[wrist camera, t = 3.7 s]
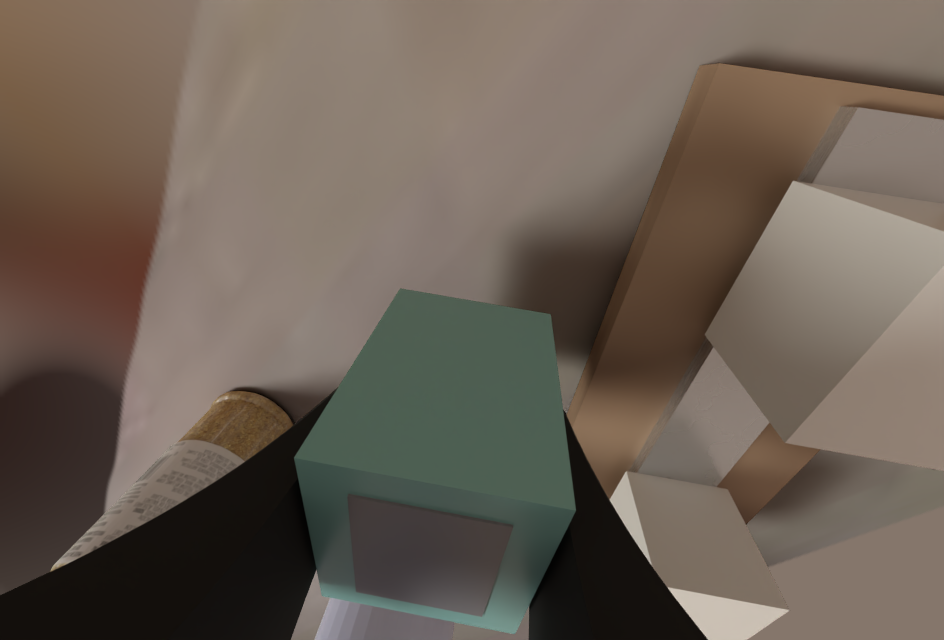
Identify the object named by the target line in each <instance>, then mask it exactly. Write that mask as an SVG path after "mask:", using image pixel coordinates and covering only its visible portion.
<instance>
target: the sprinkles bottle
mask: <svg viewBox="0 0 944 640" xmlns="http://www.w3.org/2000/svg"><path fill="white" fill-rule="evenodd" d="M292 426H293V423H292V421H291V419H290V418H289V417H288V415H287V414H286V413H285V412H284V411H283V410H282V409H281V408H280V407H279V406H277V405H276V404H275V403H274V402H272V401H271V400H269V399H267V398H265V397H263V396H261V395H259V394H256V393H251V392H246V391H231V392H227V393H225V394H223V395H221V396H219V397H218V398H217V399H216V400H215V401H214V402H213V404H212V405H211V408H210V410H209V411H208V412H207V413H206V414H205V415H204V416H203V417H202V418H201V419H200V420H199V421H198V422H197V423H196V424H195V425H194V426H193V427H192V428H191V429H190V430H189V431H188V432H187V434H186V435H185V436H184V437H183V438H182V439H180V440H179V441H178V442H177V443H175V444H173V445H172V446H171V447H170V448H169V449H168V450H167V451H166V452H165V453H164V454H163V455H162V456H161V457H160V458H159V459H158V460H157V461H156V462H155V463H154V464H153V465H152V466H151V467H150V468H149V469H148V470H147V471H146V472H145V473H144V474H143V475H142V476H141V477H140V478H139V479H138V480H137V481H136V482H135V483H134V484H133V485H132V486H131V487H130V488H129V489H128V490H127V491H126V493H125V494H124V495H123V496H122V497H121V498H120V499H119V500H118V501H117V502H116V503H115V504H114V505H113V506H112V507H111V508H110V509H109V510H108V511H107V512H106V513H105V514H104V515H103V516H102V517H101V518H100V519H99V520H98V521H97V522H96V523H95V524H94V525H93V526H92V527H91V528H90V529H89V530H88V531H87V532H86V533H85V534H84V535H83V536H82V538H80V539H79V540H78V541H77V543H75V544H74V545H73V546H72V547H71V548H70V549H69V551H67V552H66V553H65V554H64V555H63V556H62V557H61V558H60V559H59V560H58V561H57V562H56V564H55V565H54V566H53V567H52V570H51V571H53V570H55V569H57V568H59V567H61V566H64V565H66V564H68V563H70V562H72V561H74V560H76V559H78V558H80V557H82V556H84V555H86V554H88V553H90V552H92V551H94V550H96V549H97V548H99V547H101V546H103V545H105V544H107V543H109V542H111V541H112V540H114V539H116V538H118V537H120V536H122V535H124V534H125V533H127V532H129V531H131V530H133V529H135V528H137V527H139V526H140V525H142V524H144V523H146V522H148V521H150V520H152V519H153V518H155V517H157V516H159V515H160V514H162V513H164V512H166V511H167V510H169V509H171V508H173V507H174V506H176V505H178V504H179V503H181V502H183V501H184V500H186V499H187V498H189V497H191V496H192V495H194V494H196V493H197V492H199V491H201V490H202V489H204V488H205V487H207V486H209V485H210V484H212V483H214V482H215V481H217V480H218V479H220V478H221V477H223V476H224V475H226V474H227V473H229V472H230V471H232V470H233V469H235V468H236V467H238V466H239V465H241V464H242V463H244V462H245V461H246V460H248V459H249V458H251V457H252V456H253V455H255V454H256V453H258V452H259V451H260V450H262V449H263V448H264V447H266V446H267V445H268V444H270V443H271V442H272V441H274V440H275V439H276V438H278V437H279V436H280V435H282V434H283V433H284V432H286V431H287V430H288V429H289V428H291V427H292ZM51 571H50V572H51Z"/></svg>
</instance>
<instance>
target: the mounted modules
mask: <svg viewBox="0 0 944 640" xmlns="http://www.w3.org/2000/svg"><path fill="white" fill-rule="evenodd" d="M705 336H706V337H707V339H708V340H709V341H710V343H711V344H712V345H713V347H714V348H715V350H716V351H717V352H718V354H719V355H720V356H721V358H722V359H723V360H724V362H725V363H726V364H727V366H728V367H729V368H730V370H731V371H732V372H733V374H734V375H735V376H736V378H737V379H738V381H739V382H740V383H741V385H742V386H743V387H744V389H745V390H746V391H747V393H748V394H749V395H750V397H751V398H752V399H753V401H754V402H755V403H756V405H757V406H758V407H759V409H760V410H761V412H762V413H763V414H764V416H765V417H766V418H767V420H768V421H769V422H770V424H771V425H772V426H773V428H774V429H775V430H776V432H777V433H778V434H779V436H780V437H781V439H782V440H783V441H784V443H788V444H793V445H799V446H805V447H811V448H816V449H822V450H828V451H833V452H839V453H845V454H851V455H856V456H862V457H868V458H873V459H879V460H885V461H890V462H896V463H902V464H908V465H913V466H919V467H925V468H930V469H936V470H942V471H944V204H942V203H935V202H929V201H922V200H916V199H909V198H903V197H896V196H890V195H883V194H877V193H870V192H864V191H857V190H851V189H844V188H838V187H831V186H825V185H818V184H812V183H806V182H799V181H793V182H792V183H791V185H790V187H789V189H788V190H787V192H786V194H785V196H784V197H783V199H782V201H781V203H780V204H779V206H778V208H777V209H776V211H775V213H774V215H773V216H772V218H771V220H770V222H769V223H768V225H767V227H766V229H765V230H764V232H763V234H762V236H761V237H760V239H759V241H758V243H757V244H756V246H755V248H754V250H753V251H752V253H751V255H750V256H749V258H748V260H747V262H746V263H745V265H744V267H743V269H742V270H741V272H740V274H739V276H738V277H737V279H736V281H735V283H734V284H733V286H732V288H731V290H730V291H729V293H728V295H727V296H726V298H725V300H724V302H723V303H722V305H721V307H720V309H719V310H718V312H717V314H716V316H715V317H714V319H713V321H712V323H711V324H710V326H709V328H708V330H707V331H706V333H705ZM610 502H611V503H612V505H613V507H614V508H615V510H616V512H617V513H618V515H619V517H620V518H621V520H622V521H623V523H624V525H625V526H626V528H627V529H628V531H629V533H630V534H631V536H632V537H633V539H634V540H635V542H636V543H637V545H638V546H639V548H640V549H641V551H642V552H643V554H644V555H645V557H646V558H647V559H648V561H649V562H650V564H651V565H652V567H653V568H654V570H655V571H656V572H657V574H658V575H659V576H660V578H661V579H662V581H663V582H664V583H665V585H666V586H667V587H668V589H669V590H670V592H671V593H672V594H673V596H674V597H675V598H676V600H677V601H678V602H679V603H680V605H681V606H682V607H683V608H684V610H685V611H686V612H687V614H688V615H689V616H690V617H691V619H692V620H693V621H694V622H695V624H696V625H697V626H698V627H699V629H700V630H701V631H702V633H703V634H704V635H705V636H706V638H707V639H708V640H747V639H749V638H750V637H752V636H753V635H754V634H756V633H757V632H759V631H760V630H762V629H763V628H765V627H766V626H768V625H769V624H771V623H772V622H773V621H775V620H776V619H778V618H779V617H781V616H782V615H784V614H785V613H787V612H788V611H789V608H788V606H787V604H786V602H785V600H784V598H783V596H782V594H781V592H780V590H779V589H778V586H777V585H776V582H775V581H774V579H773V577H772V575H771V573H770V571H769V569H768V567H767V565H766V563H765V561H764V559H763V557H762V555H761V553H760V551H759V549H758V547H757V545H756V543H755V542H754V540H753V538H752V536H751V534H750V532H749V530H748V528H747V526H746V524H745V522H744V520H743V518H742V516H741V514H740V512H739V510H738V508H737V506H736V504H735V503H734V501H733V499H732V497H731V495H730V493H729V491H728V489H724V488H719V487H713V486H707V485H702V484H696V483H691V482H685V481H680V480H674V479H668V478H663V477H657V476H652V475H646V474H641V473H635V472H629V471H626V472H625V474H624V476H623V477H622V479H621V481H620V483H619V484H618V486H617V488H616V490H615V491H614V493H613V495H612V497H611V498H610Z"/></svg>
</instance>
